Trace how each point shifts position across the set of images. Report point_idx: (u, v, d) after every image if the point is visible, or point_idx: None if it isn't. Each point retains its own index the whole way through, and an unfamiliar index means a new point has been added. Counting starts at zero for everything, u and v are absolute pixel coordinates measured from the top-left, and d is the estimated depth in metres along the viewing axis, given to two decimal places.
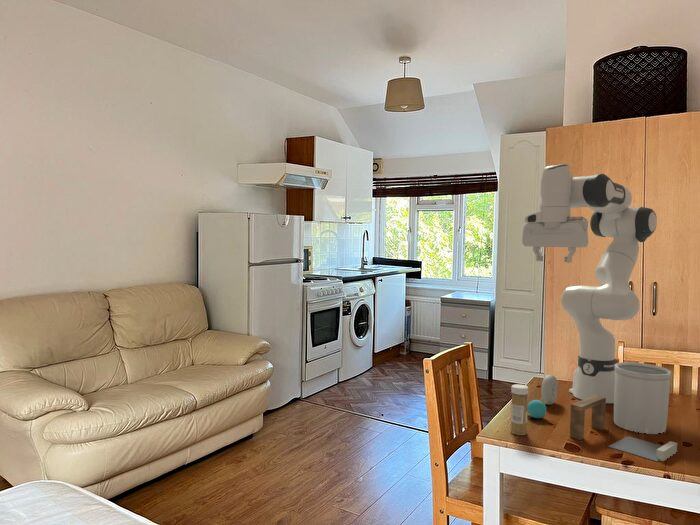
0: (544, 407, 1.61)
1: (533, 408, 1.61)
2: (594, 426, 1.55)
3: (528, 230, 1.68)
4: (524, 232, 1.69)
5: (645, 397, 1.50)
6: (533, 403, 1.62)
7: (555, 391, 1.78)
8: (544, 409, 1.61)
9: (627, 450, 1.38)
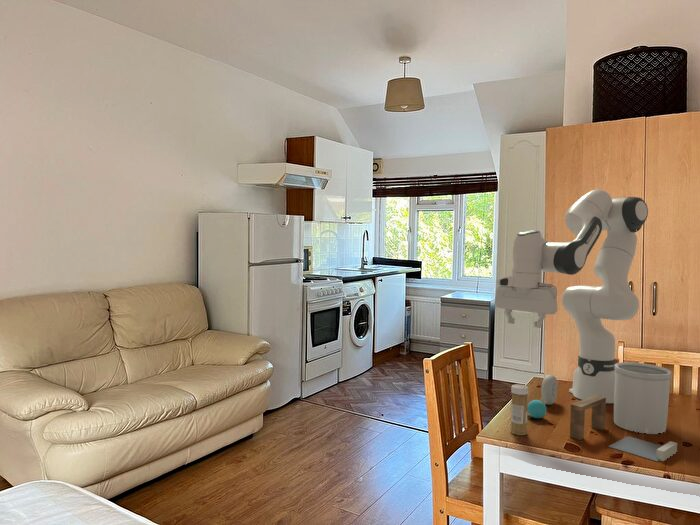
0: (544, 407, 1.61)
1: (533, 408, 1.61)
2: (594, 426, 1.55)
3: (501, 293, 1.72)
4: (497, 294, 1.73)
5: (645, 397, 1.50)
6: (533, 403, 1.62)
7: (555, 391, 1.78)
8: (544, 409, 1.61)
9: (627, 450, 1.38)
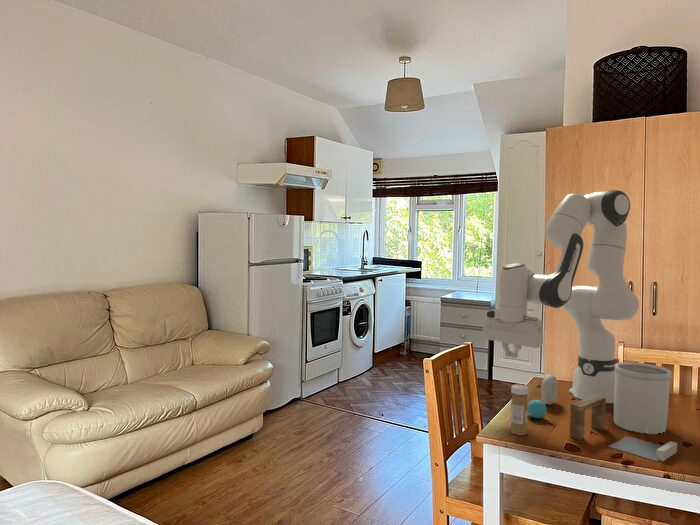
0: (544, 407, 1.61)
1: (533, 408, 1.61)
2: (594, 426, 1.55)
3: (488, 324, 1.74)
4: (484, 325, 1.75)
5: (645, 397, 1.50)
6: (533, 403, 1.62)
7: (555, 391, 1.78)
8: (544, 409, 1.61)
9: (627, 450, 1.38)
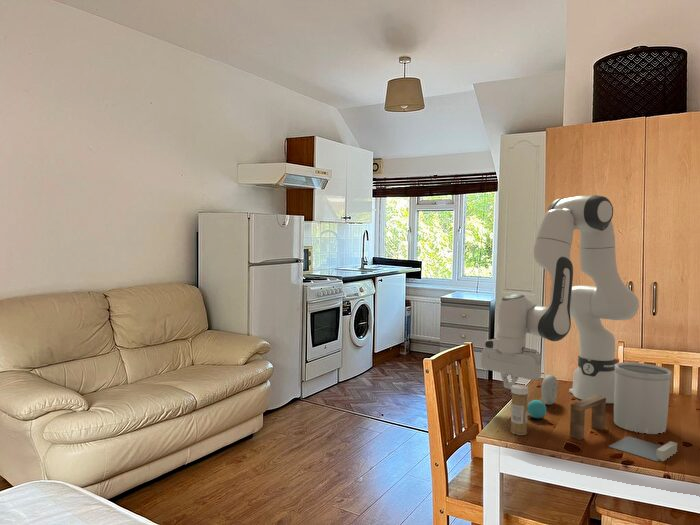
0: (544, 407, 1.61)
1: (533, 408, 1.61)
2: (594, 426, 1.55)
3: (486, 354, 1.74)
4: (482, 355, 1.75)
5: (645, 397, 1.50)
6: (533, 403, 1.62)
7: (555, 391, 1.78)
8: (544, 409, 1.61)
9: (627, 450, 1.38)
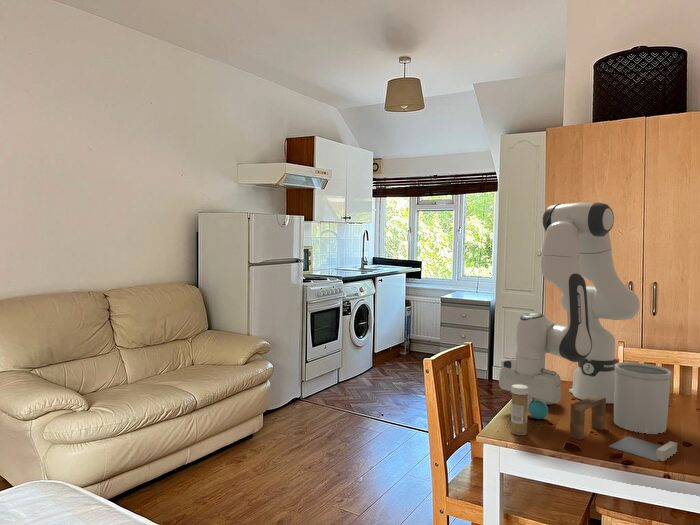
0: (546, 409, 1.61)
1: (536, 410, 1.60)
2: (594, 426, 1.55)
3: (504, 374, 1.70)
4: (500, 375, 1.71)
5: (645, 397, 1.50)
6: (536, 404, 1.61)
7: None
8: (546, 411, 1.60)
9: (627, 450, 1.38)
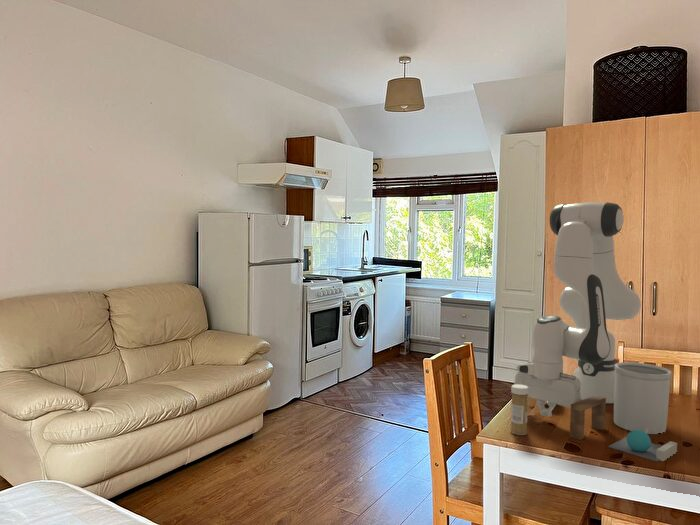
0: (633, 430, 1.39)
1: (631, 440, 1.37)
2: (594, 426, 1.55)
3: (520, 379, 1.65)
4: (516, 380, 1.66)
5: (645, 397, 1.50)
6: (627, 441, 1.39)
7: None
8: (634, 430, 1.39)
9: (627, 450, 1.38)
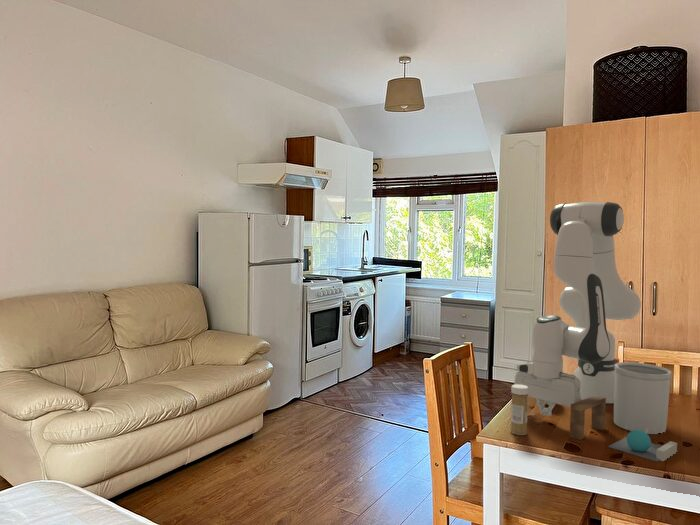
0: (633, 430, 1.39)
1: (631, 440, 1.37)
2: (594, 426, 1.55)
3: (520, 378, 1.65)
4: (516, 379, 1.66)
5: (645, 397, 1.50)
6: (627, 441, 1.39)
7: None
8: (634, 430, 1.39)
9: (627, 450, 1.38)
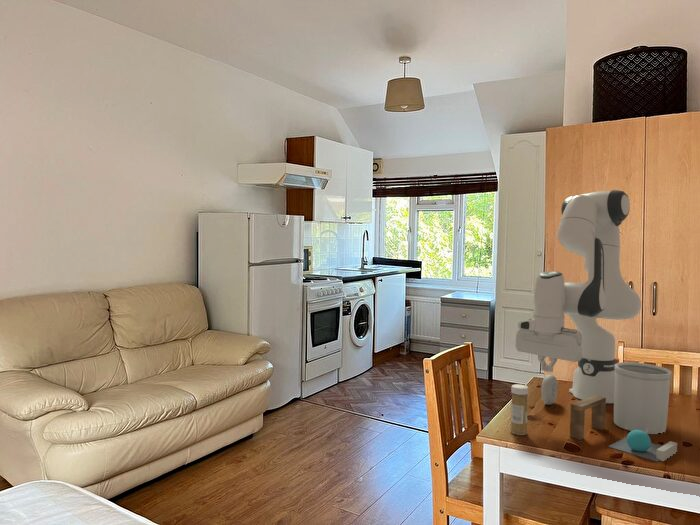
0: (633, 430, 1.39)
1: (631, 440, 1.37)
2: (594, 426, 1.55)
3: (521, 336, 1.65)
4: (517, 337, 1.65)
5: (645, 397, 1.50)
6: (627, 441, 1.39)
7: (555, 391, 1.78)
8: (634, 430, 1.39)
9: (627, 450, 1.38)
